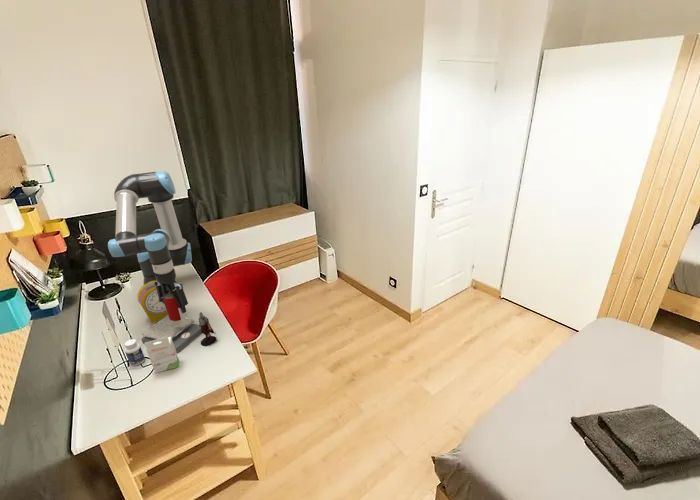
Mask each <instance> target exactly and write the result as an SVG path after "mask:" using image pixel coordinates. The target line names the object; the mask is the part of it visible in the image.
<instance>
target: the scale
mask: <svg viewBox="0 0 700 500" xmlns="http://www.w3.org/2000/svg"><path fill="white" fill-rule="evenodd" d="M202 334H203V333H202V332H201V328H200V327H199V324H196V323H194V322H193V323H192V324H191V325H189V326H188V327H187V328H186V329H184V330H183V331H182V332H180V333H179V334H178V335H177V336H175V337H174V338H173V339H172V341H173V343H174V346H175V349H176V352H177V354H179V353H180V352H182V350H184V349H185V348H186V347H187V346H188V345H189V344H191V343H192V342H193V341H195V339H197V338H198V337H199V336H200V335H202ZM140 340H141V343H142V344H143V345H145V342H149V341H153V340H157V339H153V338H150V337H146V336H143V337H141V338H140Z"/></svg>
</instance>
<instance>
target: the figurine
mask: <svg viewBox="0 0 700 500" xmlns="http://www.w3.org/2000/svg"><path fill="white" fill-rule="evenodd" d="M198 315H199V317H198V323H199V324H198V325H199V327H200V328H201V332H202V334H203V335H204V336H205V337H204V338H202V339H201V340H200V345H201V346H203V347H209V346H212V345H214V344H215V343H216V342H217V337H216V336H215V335H212V334H216V332H215V331H214V330H213V328H212V326H211V324H210V322H209V318H208V317H206V316H205V315H204V313H203V312H202V311H201V312H199V314H198Z"/></svg>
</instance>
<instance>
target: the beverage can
mask: <svg viewBox="0 0 700 500" xmlns="http://www.w3.org/2000/svg"><path fill="white" fill-rule="evenodd" d="M164 303H165V306H166V310H167V313H168V316H169V319H170V320H171V321H179V320H181V317H180V313H179V310H178V307H179V306H178V304H177V302H176V300H175V299H174V297H173V295H172V294H170V292H169V293H167V294H166V295H165V296H164Z"/></svg>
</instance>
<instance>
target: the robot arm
mask: <svg viewBox="0 0 700 500" xmlns="http://www.w3.org/2000/svg"><path fill="white" fill-rule="evenodd" d="M176 192H177V191H176V188H175V185H174V182H173V179H172V178H171V175H170V174H169V173H168V172H167V171H165V170H161V171H158V170H157V171H151V172H143V173H133V174H132V173H131V174H129V175H127V176H126V177H124V178H122V179H121V180H120V182H119V183H118V184H117V185H116V187H115V189H114V193H113V195H114V196H113V199H114V201H115V202H116V209H115V210H116V211H115V212H116V215H115V238H113V239H109V241H108V242H107V248H108V251H109V254H110V255H111V257H112V258H119V257H129V256H131V255H136V257H137V262H138V264H139V266H140V270H141V272H142V275H143V286H144V285H145V284H146V283H148V282H150V281H156V282H154V284H155V286H156V289H157V293H158V297H159V301H160V302H163V304H164V305H165V303H164V296H165V295H166V294H167V293H169V292H170V294H172V295H173V297H174V299H175V300H176V302H177V304H178V306H179V307H178V310H179V313H180V317H181V320H184V319H185V318H186V319H188V314H187V309H186V306H187V305H188V304H189V301H188V298H187V297H186V294H185V291H184V287H183V286H184V285H183V284H182V283H180V284H179V283H178V282H177V281H176V277H177V274H176V271H175V267H178V266H185V265H188V264H191V263H192V261H193V259H192V247H191V243H190V242H187V240H186V239H185V238H183V236H182V232H181V228H180V224H179V222H178V218H177V215H176V212H175V211H176V210H175V207H174V205H173V199H174V197H175V196H174V195H175V194H176ZM139 199H147V200H148V202H149V203H151V204H152V205H153V207H154V211H155V214H156V216H157V220H158V223H159V228H157V229H155V230H153V231H152V232H149V233H143V234H139V235H138V234H137V203H138V201H139ZM143 286H142V287H143ZM173 290H174V291H173ZM162 297H163V298H162ZM165 308H166V306H165Z"/></svg>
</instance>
